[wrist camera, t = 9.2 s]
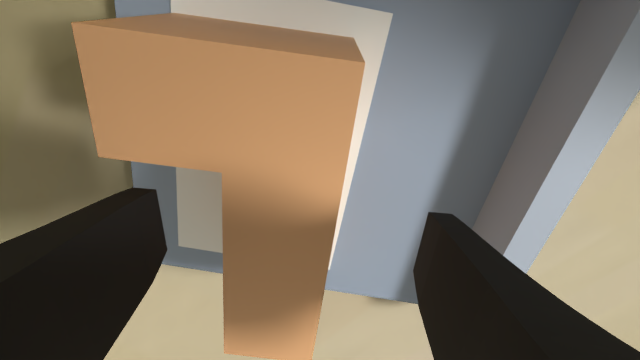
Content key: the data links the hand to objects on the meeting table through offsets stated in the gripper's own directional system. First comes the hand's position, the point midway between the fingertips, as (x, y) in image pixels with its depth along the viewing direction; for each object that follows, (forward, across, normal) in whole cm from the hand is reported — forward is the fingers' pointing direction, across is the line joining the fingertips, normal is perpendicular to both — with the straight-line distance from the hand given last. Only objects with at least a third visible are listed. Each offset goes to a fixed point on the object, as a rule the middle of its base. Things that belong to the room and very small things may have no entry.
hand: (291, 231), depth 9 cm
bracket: (+5, +2, 0) cm, 5 cm away
